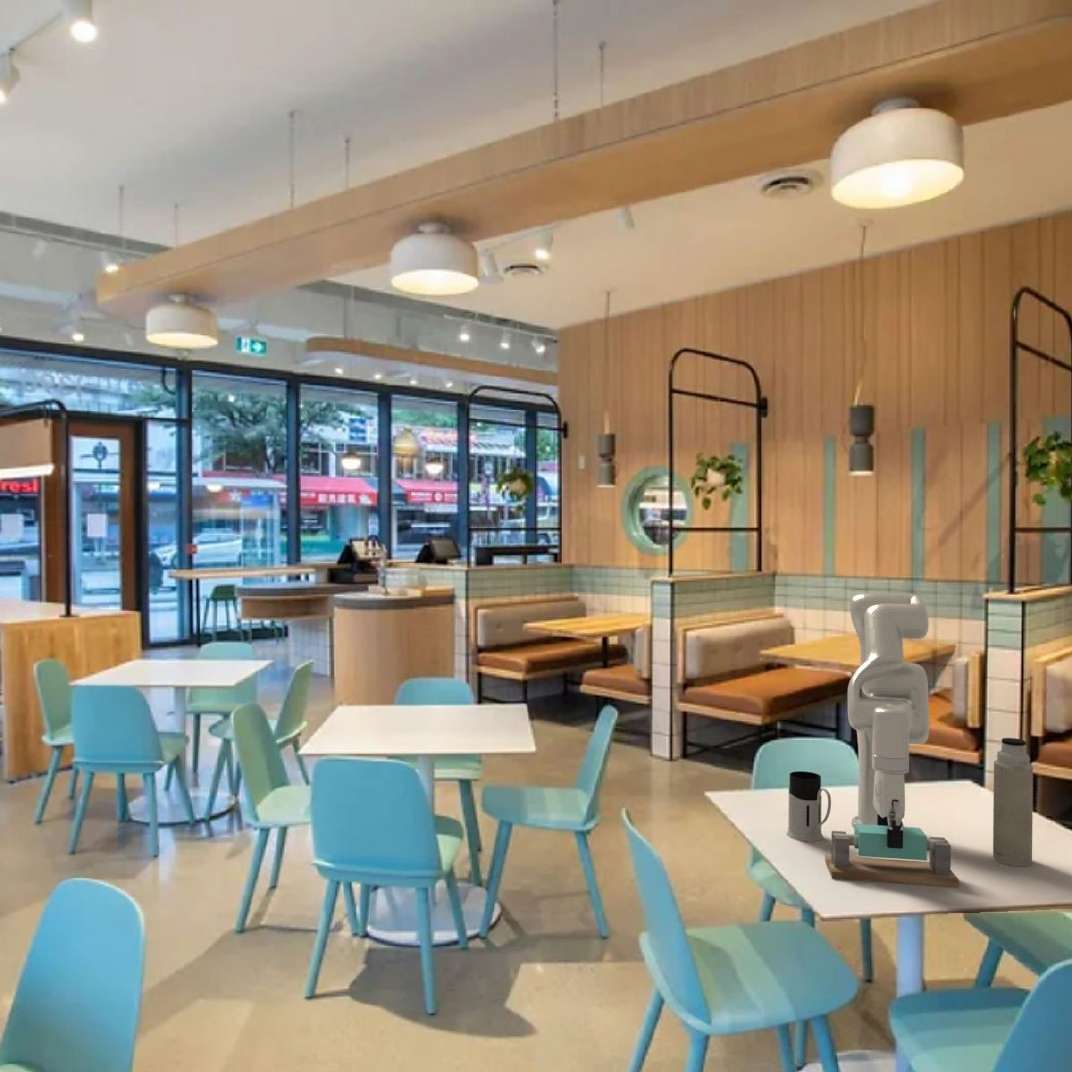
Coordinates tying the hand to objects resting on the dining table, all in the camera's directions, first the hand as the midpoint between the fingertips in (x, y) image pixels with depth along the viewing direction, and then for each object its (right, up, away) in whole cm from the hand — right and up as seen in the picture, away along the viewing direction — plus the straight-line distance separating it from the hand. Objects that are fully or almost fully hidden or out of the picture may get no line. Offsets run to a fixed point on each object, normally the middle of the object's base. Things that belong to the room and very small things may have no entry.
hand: (889, 840), depth 196 cm
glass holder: (-10, -8, +22) cm, 26 cm away
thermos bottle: (+32, -8, +9) cm, 34 cm away
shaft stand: (0, -8, 0) cm, 7 cm away
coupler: (0, -3, 0) cm, 3 cm away
